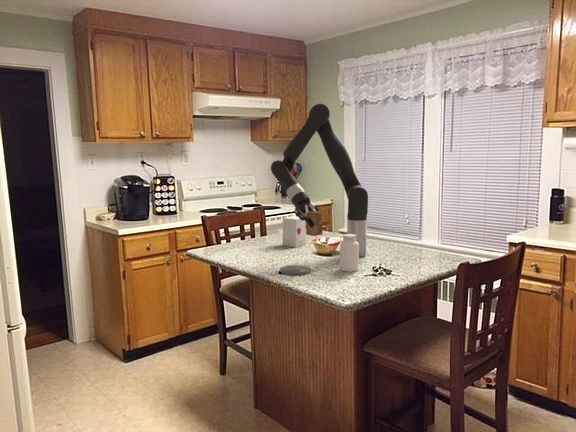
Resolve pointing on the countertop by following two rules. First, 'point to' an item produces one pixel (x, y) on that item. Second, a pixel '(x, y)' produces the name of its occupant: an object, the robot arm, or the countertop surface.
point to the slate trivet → (295, 270)
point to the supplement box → (293, 231)
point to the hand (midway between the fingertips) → (317, 225)
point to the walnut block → (317, 221)
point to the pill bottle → (349, 253)
